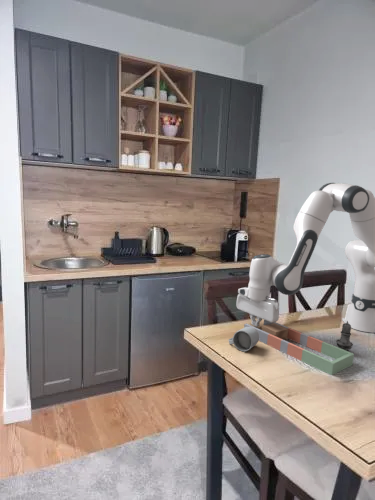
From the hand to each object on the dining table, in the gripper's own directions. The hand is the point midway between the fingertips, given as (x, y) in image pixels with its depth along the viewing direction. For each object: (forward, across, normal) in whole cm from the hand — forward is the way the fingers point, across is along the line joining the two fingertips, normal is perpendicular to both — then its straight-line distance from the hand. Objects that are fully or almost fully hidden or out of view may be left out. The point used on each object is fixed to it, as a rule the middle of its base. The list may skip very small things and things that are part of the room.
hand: (255, 325), depth 143 cm
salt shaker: (+2, -31, -14) cm, 34 cm away
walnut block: (+2, -10, 0) cm, 10 cm away
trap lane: (+2, -19, 0) cm, 19 cm away
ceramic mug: (+2, -8, +17) cm, 19 cm away
